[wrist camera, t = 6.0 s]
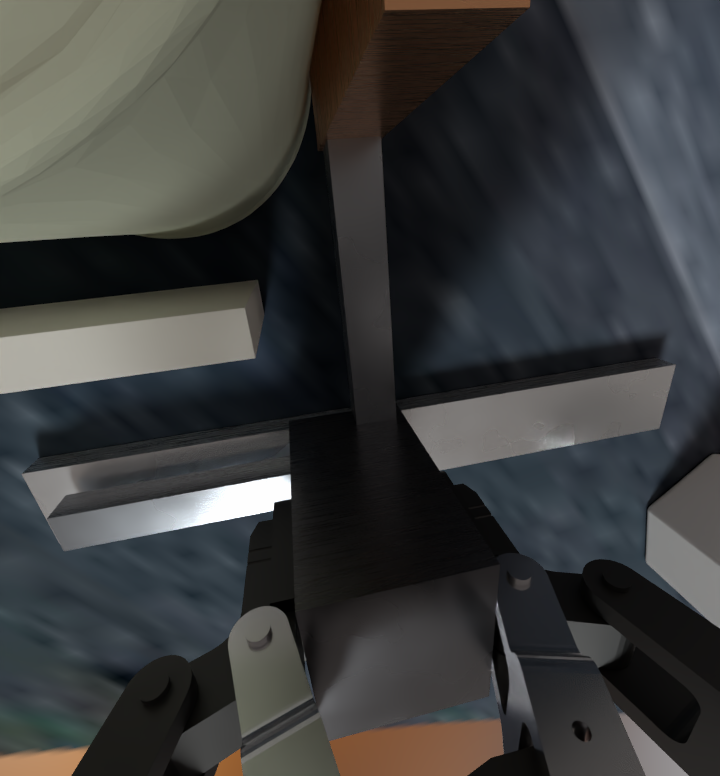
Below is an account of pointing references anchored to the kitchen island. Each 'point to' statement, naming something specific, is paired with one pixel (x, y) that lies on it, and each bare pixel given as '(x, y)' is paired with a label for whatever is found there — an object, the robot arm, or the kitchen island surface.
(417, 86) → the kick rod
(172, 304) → the frame
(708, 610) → the jar
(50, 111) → the can
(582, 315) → the kitchen island surface
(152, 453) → the rail
